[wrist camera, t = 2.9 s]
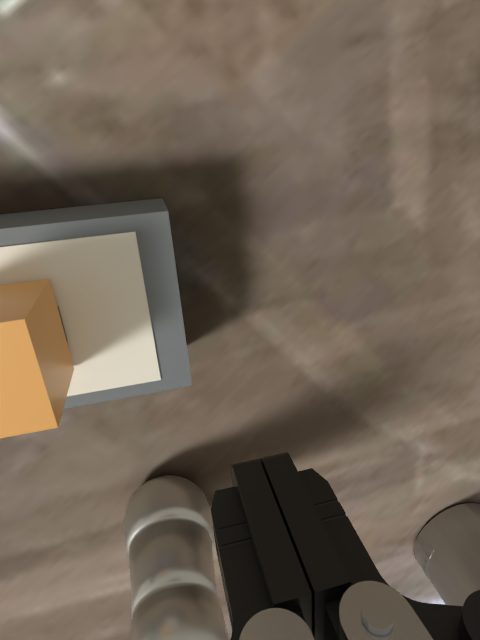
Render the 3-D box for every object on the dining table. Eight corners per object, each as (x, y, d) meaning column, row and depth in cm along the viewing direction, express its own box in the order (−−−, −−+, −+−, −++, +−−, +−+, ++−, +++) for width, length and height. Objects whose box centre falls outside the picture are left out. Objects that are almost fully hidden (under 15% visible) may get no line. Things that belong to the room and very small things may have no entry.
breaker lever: (49, 278, 20) (24, 319, 16) (74, 369, 22) (57, 427, 18) (-42, 290, 19) (-96, 336, 15) (-8, 382, 21) (-46, 446, 17)
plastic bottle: (165, 449, 32) (200, 847, 14) (223, 490, 35) (314, 863, 17) (105, 501, 33) (66, 944, 15) (168, 538, 36) (198, 944, 18)
